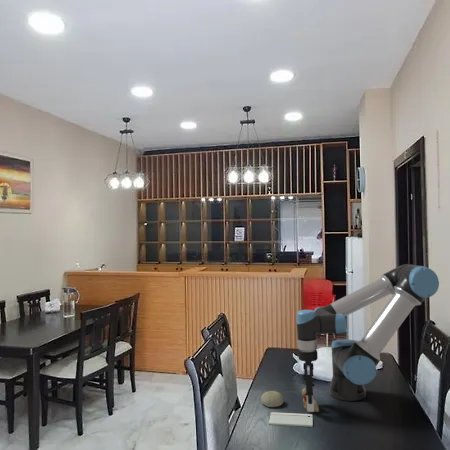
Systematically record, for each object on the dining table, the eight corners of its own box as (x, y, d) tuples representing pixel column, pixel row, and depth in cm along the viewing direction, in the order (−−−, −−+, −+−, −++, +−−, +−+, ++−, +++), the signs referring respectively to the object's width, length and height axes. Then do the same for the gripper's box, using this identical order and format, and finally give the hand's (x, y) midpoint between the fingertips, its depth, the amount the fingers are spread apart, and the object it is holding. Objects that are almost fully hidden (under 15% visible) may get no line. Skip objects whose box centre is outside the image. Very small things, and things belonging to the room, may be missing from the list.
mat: (312, 418, 158) (312, 416, 158) (312, 426, 151) (312, 425, 151) (270, 416, 161) (270, 414, 161) (268, 424, 154) (268, 422, 154)
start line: (312, 415, 160) (312, 414, 160) (312, 416, 159) (312, 416, 159) (271, 413, 164) (271, 412, 164) (270, 414, 162) (270, 413, 162)
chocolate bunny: (314, 403, 170) (313, 379, 170) (320, 412, 162) (319, 386, 162) (301, 404, 169) (300, 380, 169) (306, 413, 162) (305, 387, 162)
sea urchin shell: (285, 404, 167) (270, 389, 168) (271, 417, 168) (257, 403, 169) (286, 395, 176) (272, 381, 177) (273, 408, 177) (260, 394, 178)
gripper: (298, 342, 177) (301, 397, 176) (297, 356, 157) (300, 418, 157) (316, 342, 175) (319, 397, 175) (317, 357, 156) (320, 418, 155)
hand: (310, 407), depth 166 cm, fingers closed on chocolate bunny, 7 cm apart
